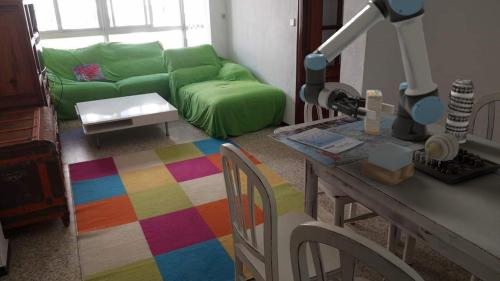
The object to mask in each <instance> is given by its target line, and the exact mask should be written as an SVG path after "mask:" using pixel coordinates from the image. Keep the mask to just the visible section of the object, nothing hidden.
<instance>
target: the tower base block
mask: <svg viewBox="0 0 500 281" xmlns="http://www.w3.org/2000/svg"><path fill="white" fill-rule="evenodd" d="M368 160H369V158H368V159H366V160H364V161H362V169H361V174H362V175H364V176H366V177H369V178H371V179H373V180H376V181H378V182H380V183H382V184H385V185H388V186H390V187H393V186H395V185H397V184H399V183H402V182H404V181H405V180H408V179H410V178H411V177H414V174H415V173H414V171H415V164H416V163H415V162H412V164H409V165H407V166H405V167H403V168H401V169H399V170H397V171H395V172H393V171H390V170H387V169H385V168H382V167H379V166H377V165H374V164H372V163H369V162H368Z"/></svg>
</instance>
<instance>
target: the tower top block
mask: <svg viewBox="0 0 500 281" xmlns="http://www.w3.org/2000/svg"><path fill="white" fill-rule="evenodd" d="M413 155H414V149H412V148H409V147H406V146H402V145H399V144H396V143H393V142H391V141H385V142H383V143H381V144H378V145H376V146H373V147H370V148H369V149H368V159H369V160H368V159H367V160H368V162H369V163H372V164H374V165H377V166H379V167H382V168H385V169H387V170H390V171H393V172H395V171H397V170H399V169H401V168H403V167H405V166H407V165H409V164H412V163H413V157H414V156H413Z"/></svg>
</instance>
